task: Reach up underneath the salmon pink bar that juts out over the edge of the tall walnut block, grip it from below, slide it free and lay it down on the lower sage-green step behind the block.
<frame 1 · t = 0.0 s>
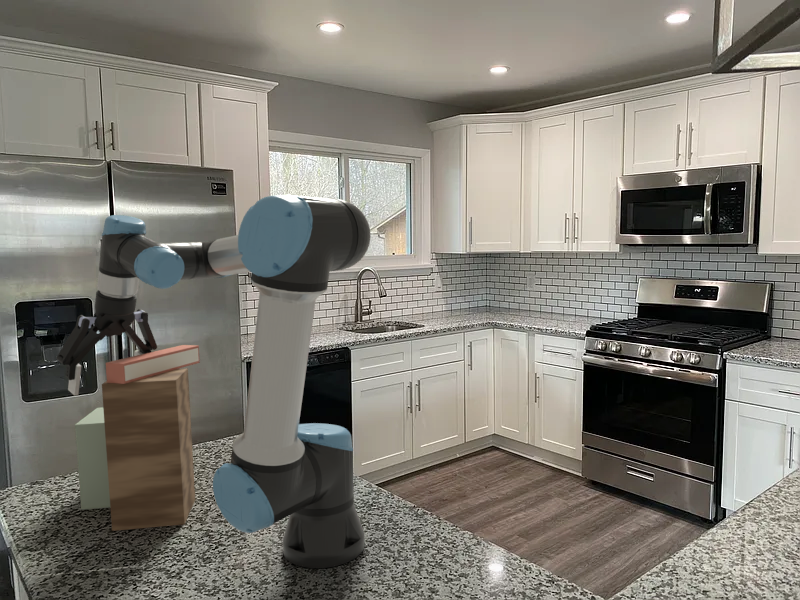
hand: (105, 385, 127), 28 cm above the worktop, tool tilted 20°, fingers open, 13 cm apart
sage step: (120, 494, 138), on the worktop
salmon pink bar: (156, 371, 128), point 30 cm above the worktop, touching walnut block
walnut block: (155, 514, 127), on the worktop
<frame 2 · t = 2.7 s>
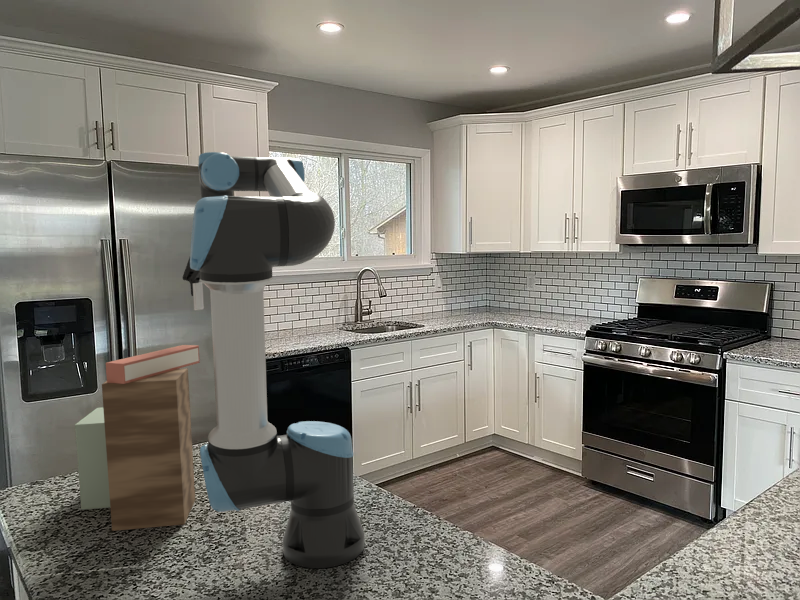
hand: (222, 310, 143), 41 cm above the worktop, tool pointing down, fingers open, 13 cm apart
nothing on the worktop moved.
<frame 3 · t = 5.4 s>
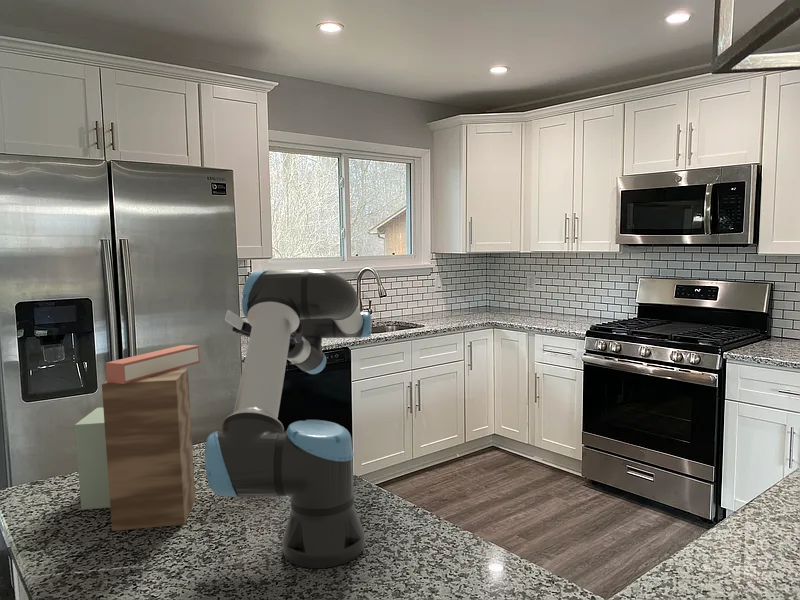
hand: (249, 315, 147), 40 cm above the worktop, tool pointing upward, fingers open, 13 cm apart
nothing on the worktop moved.
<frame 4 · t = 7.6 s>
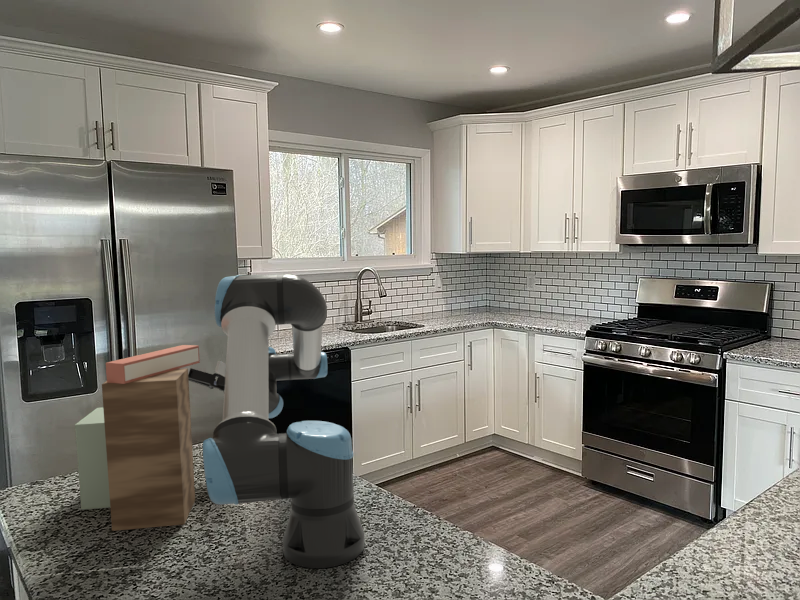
hand: (193, 364, 140), 29 cm above the worktop, tool pointing upward, fingers open, 13 cm apart
nothing on the worktop moved.
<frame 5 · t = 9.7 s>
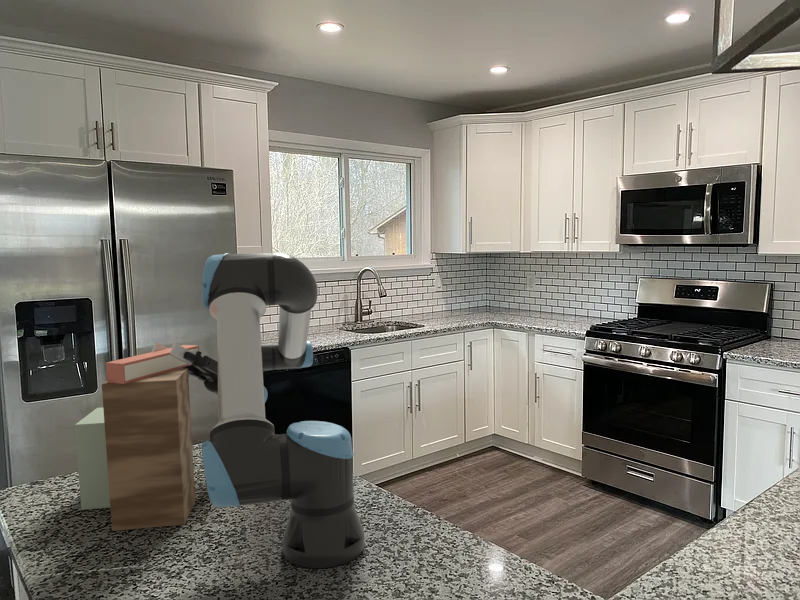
hand: (163, 348, 130), 35 cm above the worktop, tool pointing upward, fingers closed on salmon pink bar, 4 cm apart
salmon pink bar: (156, 371, 128), point 30 cm above the worktop, touching gripper
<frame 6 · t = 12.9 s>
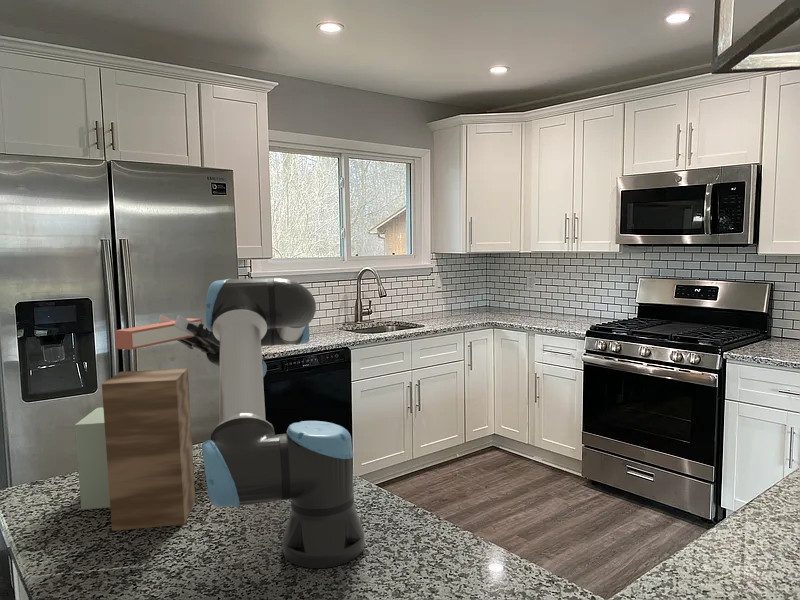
hand: (168, 320, 141), 40 cm above the worktop, tool pointing upward, fingers closed on salmon pink bar, 5 cm apart
salmon pink bar: (162, 341, 139), point 35 cm above the worktop, touching gripper
when the fingers open (25 cm above the worktop, at t = 15.8 s): salmon pink bar drops 1 cm, resting on sage step.
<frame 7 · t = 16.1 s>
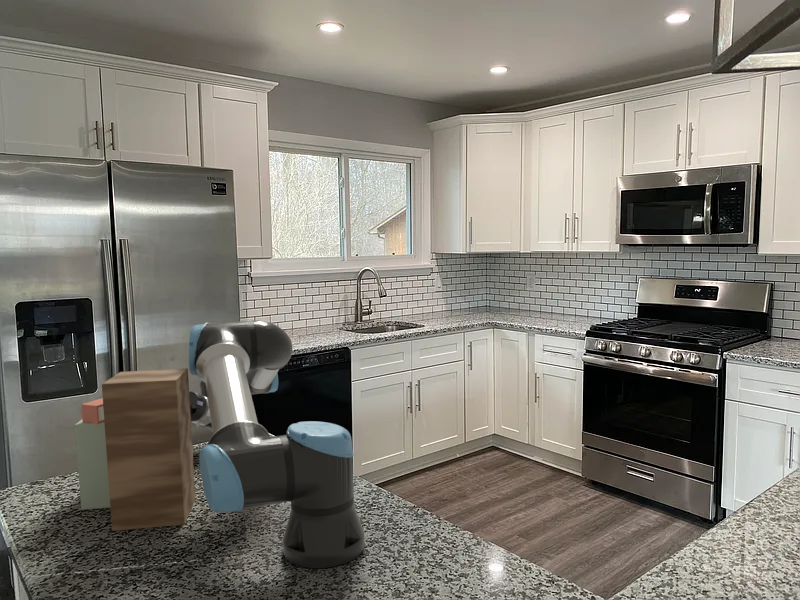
hand: (137, 383, 142), 25 cm above the worktop, tool pointing upward, fingers open, 8 cm apart
salmon pink bar: (129, 409, 140), point 19 cm above the worktop, touching sage step
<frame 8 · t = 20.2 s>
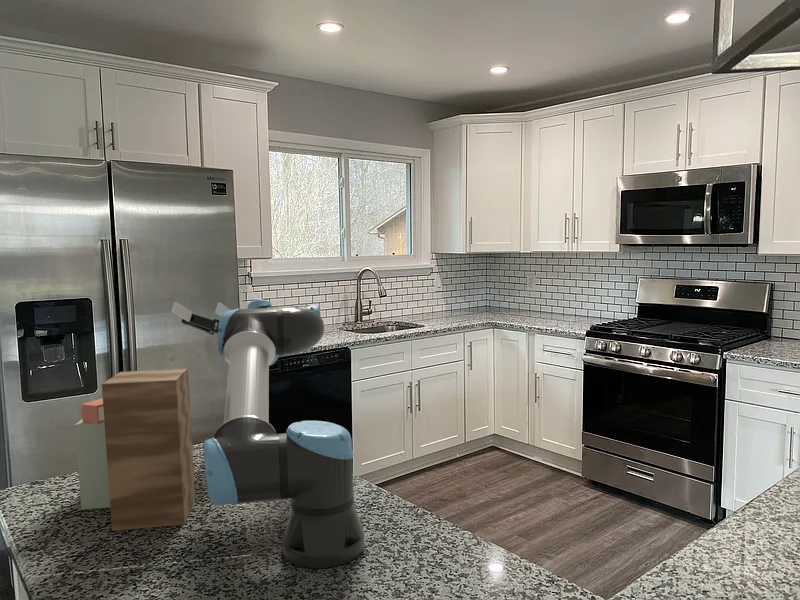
hand: (195, 307, 150), 42 cm above the worktop, tool pointing upward, fingers open, 13 cm apart
nothing on the worktop moved.
at the end: salmon pink bar inside the target area (0.6 cm from its centre), point 19.0 cm above the worktop; salmon pink bar point 19.0 cm above the worktop; the gripper is holding nothing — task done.
